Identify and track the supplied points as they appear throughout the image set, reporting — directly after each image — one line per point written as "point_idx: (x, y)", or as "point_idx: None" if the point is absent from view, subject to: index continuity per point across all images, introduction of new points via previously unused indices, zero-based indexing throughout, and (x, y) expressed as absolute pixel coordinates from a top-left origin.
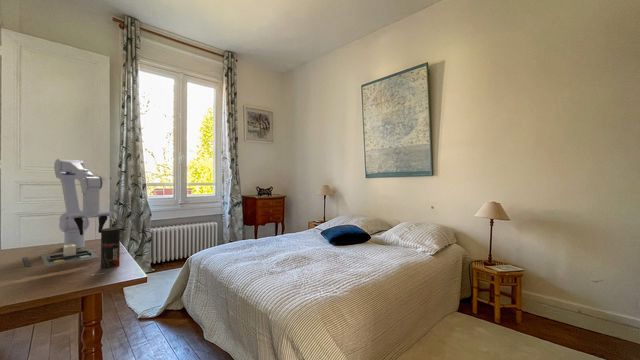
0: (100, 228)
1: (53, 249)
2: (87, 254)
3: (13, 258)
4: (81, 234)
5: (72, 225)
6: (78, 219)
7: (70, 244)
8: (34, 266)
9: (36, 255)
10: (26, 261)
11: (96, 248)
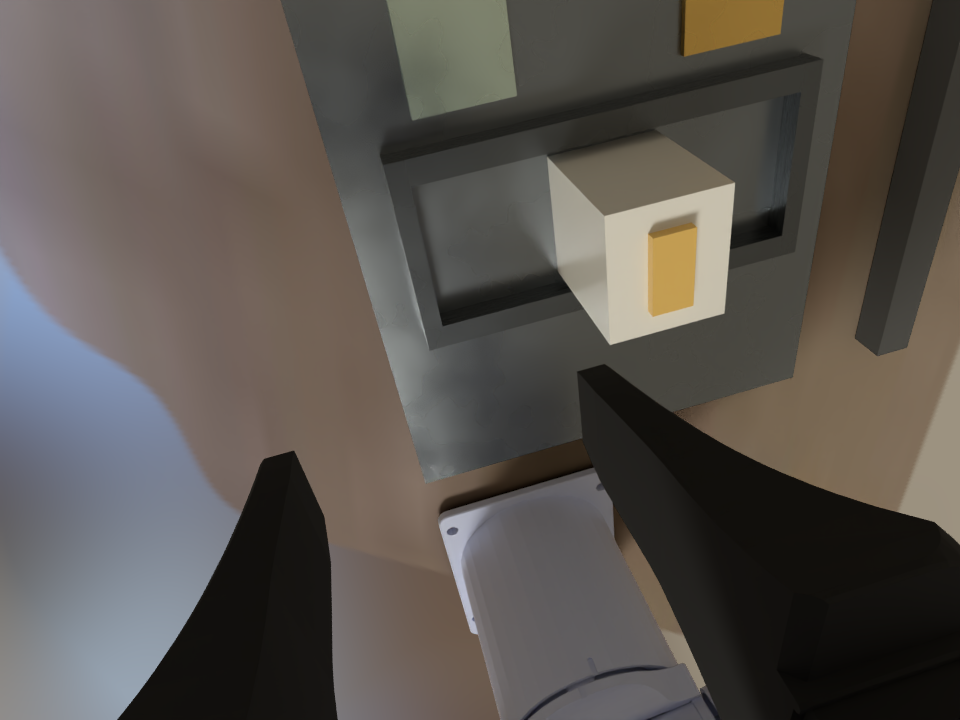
0: (275, 518)
1: (655, 586)
2: (424, 148)
3: (893, 431)
4: (604, 370)
5: None
6: (893, 663)
7: (660, 313)
8: (893, 37)
9: (773, 459)
10: (944, 166)
11: (355, 527)
